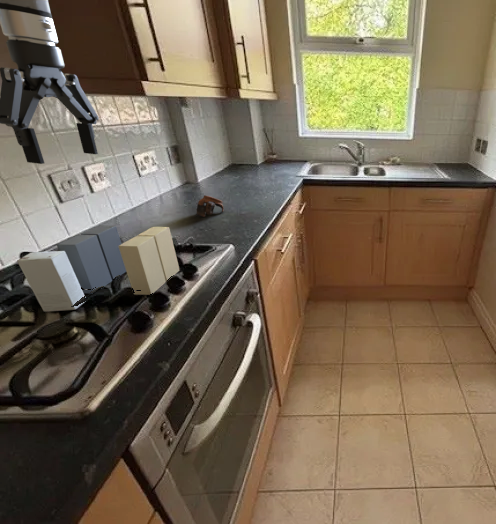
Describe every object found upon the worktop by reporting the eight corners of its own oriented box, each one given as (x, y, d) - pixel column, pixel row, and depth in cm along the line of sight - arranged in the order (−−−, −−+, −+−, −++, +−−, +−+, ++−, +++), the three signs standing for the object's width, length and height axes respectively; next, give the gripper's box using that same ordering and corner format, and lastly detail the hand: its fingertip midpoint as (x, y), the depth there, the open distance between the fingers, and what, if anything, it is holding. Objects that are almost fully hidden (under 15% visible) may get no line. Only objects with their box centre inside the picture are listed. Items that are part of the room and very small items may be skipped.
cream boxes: (133, 294, 75) (118, 245, 70) (164, 270, 86) (152, 226, 81) (151, 294, 75) (137, 246, 70) (179, 270, 87) (169, 226, 81)
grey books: (76, 293, 75) (56, 244, 70) (114, 268, 86) (99, 225, 81) (93, 293, 75) (75, 244, 70) (129, 269, 86) (116, 225, 81)
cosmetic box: (87, 300, 73) (67, 249, 67) (74, 311, 69) (52, 258, 63) (55, 301, 72) (33, 250, 66) (40, 313, 68) (15, 259, 62)
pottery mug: (193, 213, 132) (200, 194, 132) (218, 221, 137) (224, 202, 137) (195, 214, 122) (202, 192, 122) (222, 222, 127) (228, 202, 127)
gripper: (-20, 31, 51) (27, 170, 60) (103, 53, 74) (123, 152, 83) (-69, 25, 51) (-15, 165, 60) (69, 49, 74) (94, 148, 83)
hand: (65, 158), depth 72 cm, fingers open, 13 cm apart
